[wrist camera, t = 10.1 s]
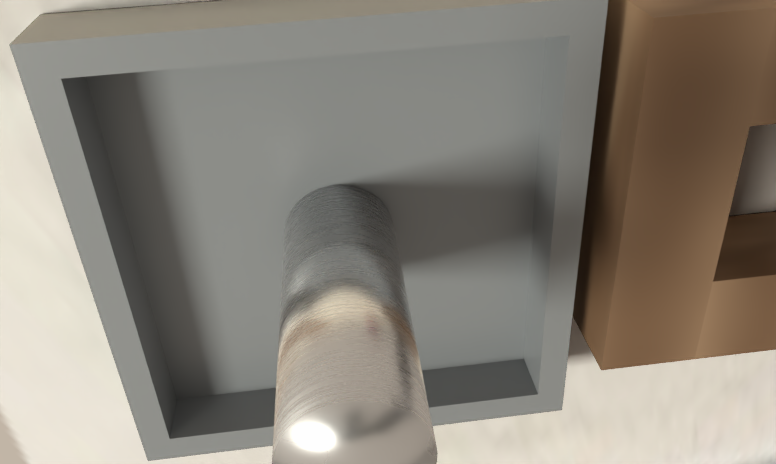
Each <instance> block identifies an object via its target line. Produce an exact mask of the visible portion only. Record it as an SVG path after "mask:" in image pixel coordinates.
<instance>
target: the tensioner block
mask: <svg viewBox="0 0 776 464" xmlns="http://www.w3.org/2000/svg"><path fill="white" fill-rule="evenodd" d="M768 124H776V0H608V8H607V17H606V26H605V35H604V43H603V52H602V61H601V70H600V79H599V87H598V96H597V105H596V114H595V123H594V131H593V140H592V149H591V158H590V167H589V175H588V184H587V193H586V202H585V211H584V219H583V228H582V237H581V246H580V255H579V264H578V272H577V281H576V290H575V299H574V308H573V317H574V319H575V321H576V323H577V325H578V327H579V329H580V330H581V332H582V334H583V336H584V338H585V340H586V342H587V344H588V346H589V348H590V349H591V351H592V353H593V355H594V357H595V359H596V361H597V363H598V365H599V367H600V369H601V370H607V369H615V368H624V367H632V366H640V365H649V364H657V363H666V362H674V361H682V360H691V359H699V358H707V357H716V356H724V355H733V354H741V353H749V352H758V351H766V350H775V349H776V212H766V213H757V214H747V215H738V216H729V212H730V208H731V204H732V200H733V196H734V191H735V187H736V183H737V179H738V175H739V170H740V166H741V162H742V158H743V154H744V149H745V145H746V141H747V137H748V133H749V129H750V126H758V125H768Z"/></svg>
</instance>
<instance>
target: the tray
mask: <svg viewBox="0 0 776 464" xmlns="http://www.w3.org/2000/svg"><path fill="white" fill-rule="evenodd" d="M607 8H608V0H220V1H207V2H194V3H181V4H169V5H156V6H143V7H130V8H117V9H105V10H92V11H79V12H66V13H54V14H41V15H39V16H38V17H37V18H36V19H35V20H34V21H33V22H32V23H31V24H30V25H29V26H28V27H27V28H26V29H25V30H24V31H23V32H22V33H21V34H20V35H19V36H18V37H17V38H16V39H15V40H14V41H13V42H12V43H11V44H10V48H11V51H12V54H13V57H14V60H15V63H16V66H17V69H18V72H19V75H20V78H21V81H22V84H23V87H24V90H25V93H26V96H27V99H28V102H29V105H30V108H31V111H32V114H33V117H34V120H35V123H36V126H37V129H38V132H39V135H40V138H41V141H42V144H43V147H44V150H45V153H46V156H47V159H48V162H49V165H50V168H51V171H52V174H53V177H54V180H55V183H56V186H57V189H58V192H59V195H60V198H61V201H62V204H63V207H64V210H65V213H66V216H67V219H68V222H69V225H70V228H71V231H72V234H73V237H74V240H75V243H76V246H77V249H78V252H79V255H80V258H81V261H82V264H83V267H84V270H85V273H86V276H87V279H88V282H89V285H90V288H91V291H92V294H93V297H94V300H95V303H96V306H97V309H98V312H99V315H100V318H101V321H102V324H103V327H104V330H105V333H106V336H107V339H108V342H109V345H110V348H111V351H112V354H113V357H114V360H115V363H116V366H117V369H118V372H119V375H120V378H121V381H122V384H123V387H124V390H125V393H126V396H127V399H128V402H129V405H130V408H131V411H132V414H133V417H134V420H135V423H136V426H137V430H138V433H139V436H140V439H141V442H142V445H143V448H144V451H145V454H146V457H147V460H148V461H151V460H159V459H167V458H175V457H184V456H192V455H200V454H208V453H216V452H224V451H232V450H241V449H249V448H257V447H265V446H273V436H274V417H275V398H276V380H277V361H278V342H279V324H280V305H281V286H282V268H283V249H284V231H285V223H286V220H287V217H288V215H289V213H290V211H291V209H292V208H293V207H294V205H295V204H296V203H297V202H298V201H299V200H300V199H301V198H302V197H304V196H305V195H306V194H308V193H310V192H312V191H314V190H316V189H319V188H322V187H325V186H331V185H350V186H355V187H359V188H362V189H364V190H366V191H369V192H370V193H372V194H373V195H375V196H376V197H377V198H379V199H380V200H381V201H382V202H383V203H384V204H385V206H386V207H387V209H388V210H389V213H390V215H391V217H392V220H393V225H394V230H395V235H396V241H397V246H398V251H399V256H400V261H401V266H402V272H403V277H404V282H405V287H406V292H407V297H408V303H409V308H410V313H411V318H412V323H413V328H414V334H415V339H416V344H417V349H418V354H419V359H420V365H421V370H422V375H423V380H424V385H425V390H426V396H427V401H428V406H429V411H430V416H431V421H432V426H436V425H444V424H452V423H460V422H468V421H477V420H485V419H493V418H501V417H509V416H517V415H525V414H534V413H542V412H550V411H558V410H562V404H563V396H564V387H565V378H566V369H567V360H568V352H569V343H570V334H571V325H572V316H573V308H574V299H575V290H576V281H577V272H578V264H579V255H580V246H581V237H582V228H583V219H584V211H585V202H586V193H587V184H588V175H589V167H590V158H591V149H592V140H593V131H594V123H595V114H596V105H597V96H598V87H599V79H600V70H601V61H602V52H603V43H604V35H605V26H606V17H607Z"/></svg>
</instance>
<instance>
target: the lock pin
mask: <svg viewBox="0 0 776 464" xmlns="http://www.w3.org/2000/svg"><path fill="white" fill-rule="evenodd" d="M436 462H437V448H436V442H435V437H434V432H433V426H432V421H431V416H430V411H429V406H428V401H427V396H426V390H425V385H424V380H423V375H422V370H421V365H420V359H419V354H418V349H417V344H416V339H415V334H414V328H413V323H412V318H411V313H410V308H409V303H408V297H407V292H406V287H405V282H404V277H403V272H402V266H401V261H400V256H399V251H398V246H397V241H396V235H395V230H394V225H393V220H392V217H391V215H390V213H389V210H388V209H387V207H386V206H385V204H384V203H383V202H382V201H381V200H380V199H379V198H377V197H376V196H375V195H373V194H372V193H370V192H369V191H366V190H364V189H362V188H359V187H355V186H350V185H331V186H325V187H322V188H319V189H316V190H314V191H312V192H310V193H308V194H306V195H305V196H304V197H302V198H301V199H300V200H299V201H298V202H297V203H296V204H295V205H294V207H293V208H292V209H291V211H290V213H289V215H288V217H287V220H286V223H285V231H284V249H283V268H282V286H281V305H280V324H279V342H278V361H277V380H276V398H275V417H274V436H273V455H272V464H436Z"/></svg>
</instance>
